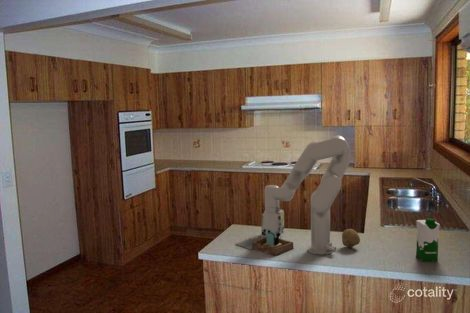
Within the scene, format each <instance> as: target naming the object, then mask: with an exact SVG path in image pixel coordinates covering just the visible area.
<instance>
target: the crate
mask: <svg viewBox="0 0 470 313" xmlns="http://www.w3.org/2000/svg"><path fill="white" fill-rule="evenodd" d="M256 240H257V241H254V242H252V246H253V248H254V249H253V250H255V251H259V252H262V253H265V254H268V255H270V256H274V257H278V256H280V255H283V254H284V253H286V252H290V251H292V250H294V242H293V241H290V240H287V239H283V238H281V239H280V238H279V244H277V245H275V246H271V245H268V244H267V238H266V237H265V238H263V239H262V238H260V239H256Z"/></svg>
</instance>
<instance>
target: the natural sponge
mask: <svg viewBox="0 0 470 313" xmlns="http://www.w3.org/2000/svg"><path fill="white" fill-rule="evenodd" d="M341 239H342V240H341V241H342V245H343V246H345V247H347V248H348V249H350V248H353V247H354V246H357V245H359V244H360V243H361V238H360V236H359V234H358V232H357V231H356V230H355V229H353V228H347V229H345V230H344V231H343V232H342V233H341Z"/></svg>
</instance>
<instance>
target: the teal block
mask: <svg viewBox="0 0 470 313" xmlns="http://www.w3.org/2000/svg"><path fill="white" fill-rule="evenodd" d="M266 235H267V244H268V245H271V246H275V245H274V237H275V235H274V232H273V231H271V232H268V233H266Z"/></svg>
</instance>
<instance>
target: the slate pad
mask: <svg viewBox="0 0 470 313" xmlns="http://www.w3.org/2000/svg"><path fill="white" fill-rule="evenodd" d="M257 240H258V239H254V238H248V239H245V240H243V241H240V242H237V243H235V246H238V247H241V248H245V249H247V250H250V251H253V250H255V249H254V248H253V246H252V242H254V241H257Z"/></svg>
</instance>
